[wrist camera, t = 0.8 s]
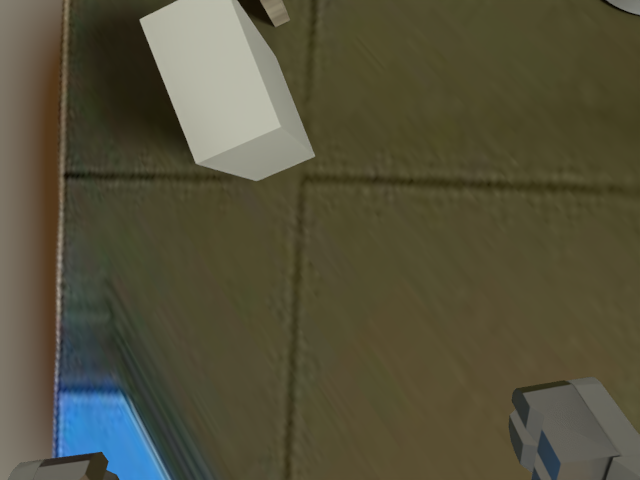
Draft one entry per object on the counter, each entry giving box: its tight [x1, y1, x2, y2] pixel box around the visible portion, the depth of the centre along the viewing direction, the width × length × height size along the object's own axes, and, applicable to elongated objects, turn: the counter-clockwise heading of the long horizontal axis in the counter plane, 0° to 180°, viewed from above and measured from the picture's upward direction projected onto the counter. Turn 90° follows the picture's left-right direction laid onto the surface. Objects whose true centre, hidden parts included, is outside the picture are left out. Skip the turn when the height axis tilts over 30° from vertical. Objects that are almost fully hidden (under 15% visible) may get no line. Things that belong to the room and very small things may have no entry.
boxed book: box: [139, 0, 315, 181], centre depth 38 cm, size 10×6×15 cm, turn 22°
